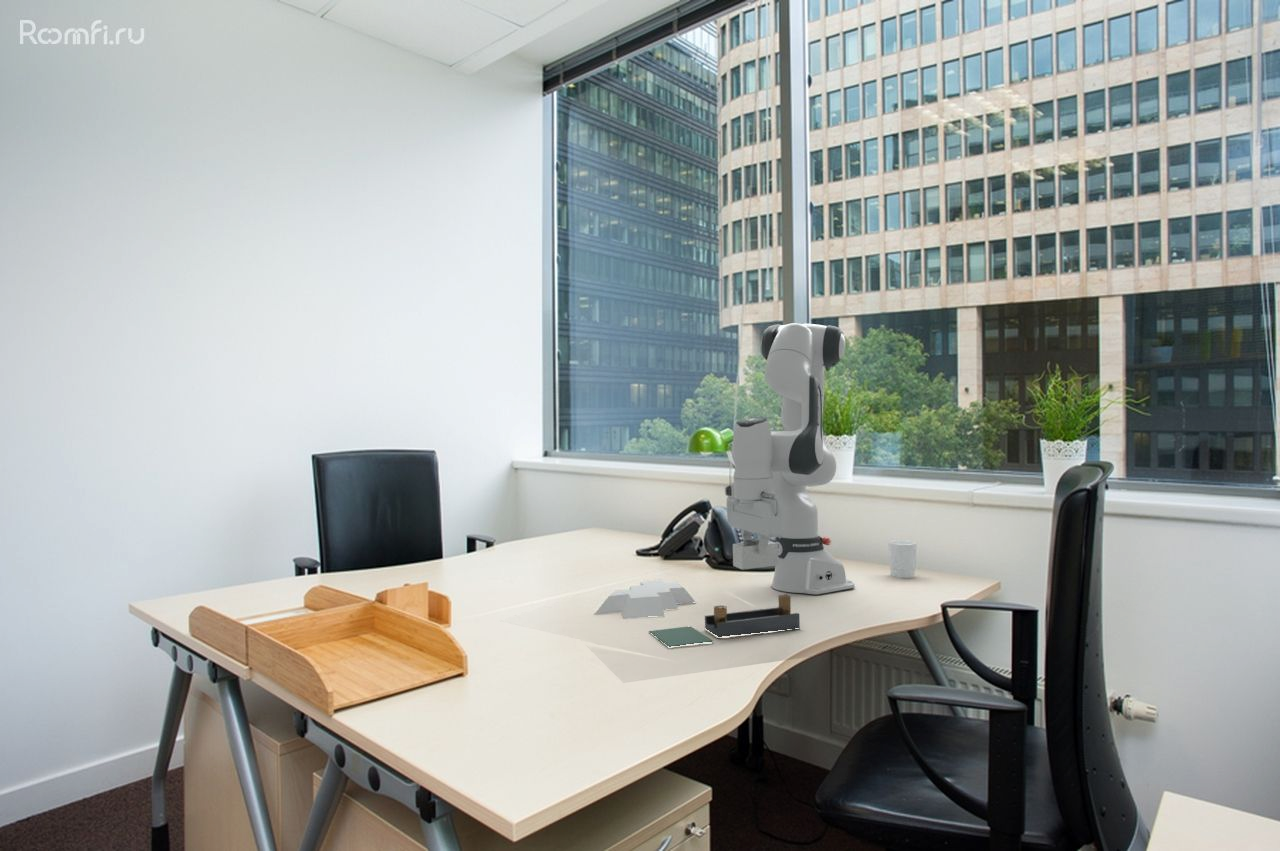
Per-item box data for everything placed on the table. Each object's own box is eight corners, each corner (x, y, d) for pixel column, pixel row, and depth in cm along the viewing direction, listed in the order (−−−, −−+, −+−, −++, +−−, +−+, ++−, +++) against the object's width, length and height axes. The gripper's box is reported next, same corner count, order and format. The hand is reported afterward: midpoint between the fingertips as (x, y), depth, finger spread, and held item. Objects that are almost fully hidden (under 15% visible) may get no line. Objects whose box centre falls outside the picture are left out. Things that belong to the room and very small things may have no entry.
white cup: (882, 575, 229) (882, 541, 228) (903, 572, 232) (902, 539, 232) (902, 580, 221) (901, 545, 221) (922, 577, 225) (922, 543, 225)
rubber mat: (690, 629, 174) (690, 626, 174) (713, 644, 163) (712, 640, 163) (648, 634, 171) (648, 631, 171) (669, 649, 160) (669, 646, 160)
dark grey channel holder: (783, 621, 180) (783, 591, 179) (799, 629, 173) (799, 598, 173) (705, 631, 173) (704, 600, 173) (718, 639, 166) (718, 607, 166)
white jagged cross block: (643, 633, 175) (643, 608, 175) (575, 621, 186) (575, 598, 186) (718, 600, 204) (718, 580, 204) (655, 592, 215) (655, 572, 215)
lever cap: (768, 562, 177) (767, 536, 177) (778, 565, 173) (777, 539, 173) (733, 565, 174) (732, 540, 174) (742, 569, 170) (741, 543, 170)
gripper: (790, 493, 164) (792, 558, 165) (745, 485, 183) (747, 543, 184) (763, 495, 162) (765, 561, 162) (721, 487, 181) (723, 546, 182)
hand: (755, 551), depth 173 cm, fingers closed on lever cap, 4 cm apart
